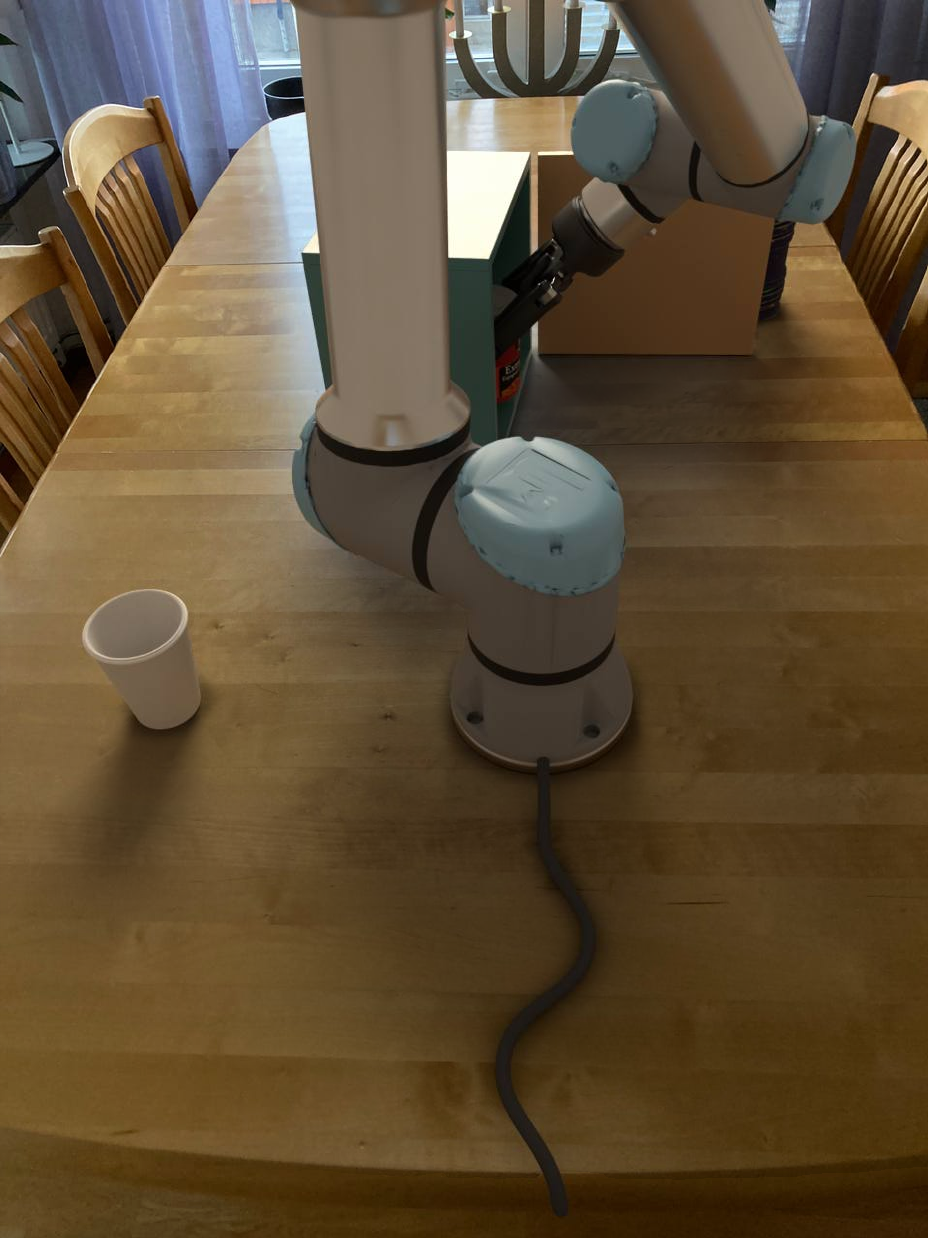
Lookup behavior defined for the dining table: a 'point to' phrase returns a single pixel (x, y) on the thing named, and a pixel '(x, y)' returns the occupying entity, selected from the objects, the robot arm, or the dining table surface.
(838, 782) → the dining table surface
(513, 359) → the canned food
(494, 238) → the box
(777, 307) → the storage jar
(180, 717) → the dixie cup
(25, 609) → the dining table surface
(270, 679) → the dining table surface
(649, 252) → the fridge door
